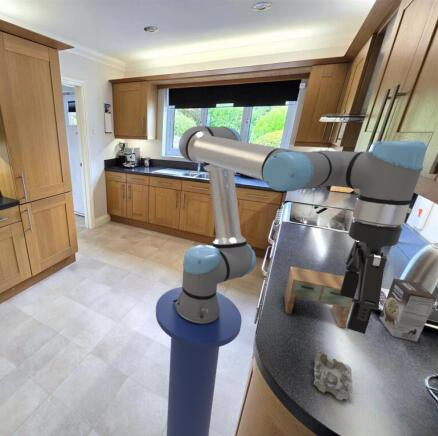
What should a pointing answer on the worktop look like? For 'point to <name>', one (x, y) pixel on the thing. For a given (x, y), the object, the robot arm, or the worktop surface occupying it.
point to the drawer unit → (318, 291)
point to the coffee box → (406, 309)
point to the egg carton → (332, 376)
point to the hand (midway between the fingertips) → (350, 311)
